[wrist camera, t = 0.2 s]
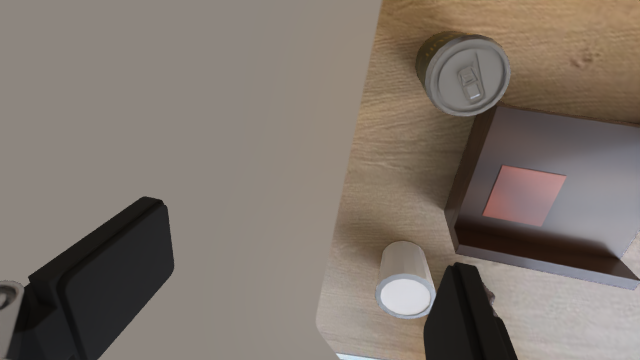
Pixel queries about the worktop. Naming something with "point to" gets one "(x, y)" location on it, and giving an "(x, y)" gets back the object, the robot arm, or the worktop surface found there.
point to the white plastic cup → (404, 281)
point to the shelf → (548, 193)
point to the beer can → (462, 72)
